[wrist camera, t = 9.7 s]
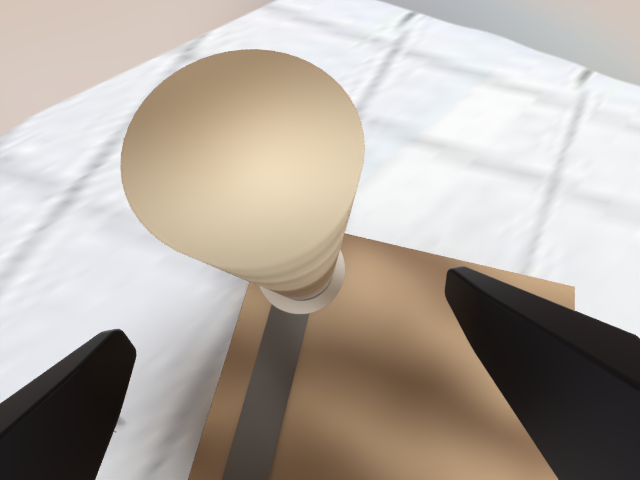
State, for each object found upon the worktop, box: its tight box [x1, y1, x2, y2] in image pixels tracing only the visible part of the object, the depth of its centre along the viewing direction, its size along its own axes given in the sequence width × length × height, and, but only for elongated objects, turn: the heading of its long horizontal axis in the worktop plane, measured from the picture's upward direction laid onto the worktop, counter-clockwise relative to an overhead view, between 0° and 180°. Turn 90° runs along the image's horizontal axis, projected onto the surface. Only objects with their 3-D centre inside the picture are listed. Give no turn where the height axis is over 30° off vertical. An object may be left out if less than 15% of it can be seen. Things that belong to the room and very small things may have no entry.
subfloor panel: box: [188, 234, 575, 480], centre depth 16 cm, size 17×20×2 cm
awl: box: [121, 49, 365, 301], centre depth 11 cm, size 4×4×13 cm
